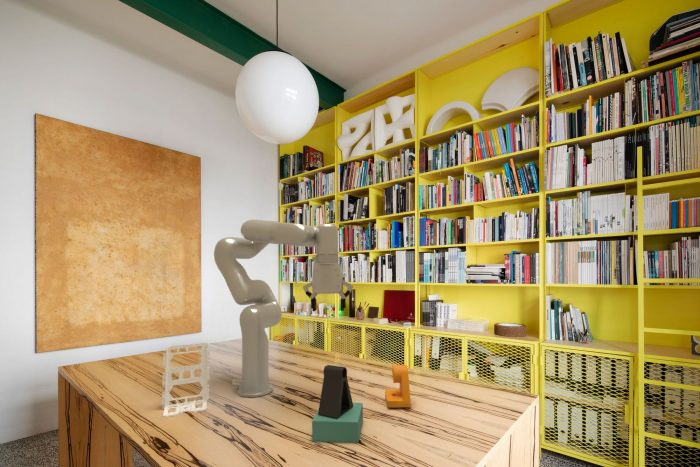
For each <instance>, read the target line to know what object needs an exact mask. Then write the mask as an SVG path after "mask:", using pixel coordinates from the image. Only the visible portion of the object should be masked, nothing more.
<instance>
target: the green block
mask: <svg viewBox="0 0 700 467" xmlns="http://www.w3.org/2000/svg"><path fill="white" fill-rule="evenodd" d="M363 407H364V405H363V402H353V408H352V409H350V410H349V411H348V412H346V413H345V414H343V415H342V416H341V417H339V418H338V419H335V418H330V417H326V416H321V415H318V411H319V408H318V410H316V413H315V415H314V417H313V419H312V421H311V431H312V434H311V436H312V437H311V438H312V439H311V440H312V442H319V443H320V442H321V443H345V444H346V443H349V444H351V443H352V444H359V442H360V436H361V433H362V427H363V422H364V411H363V410H364V408H363Z"/></svg>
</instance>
